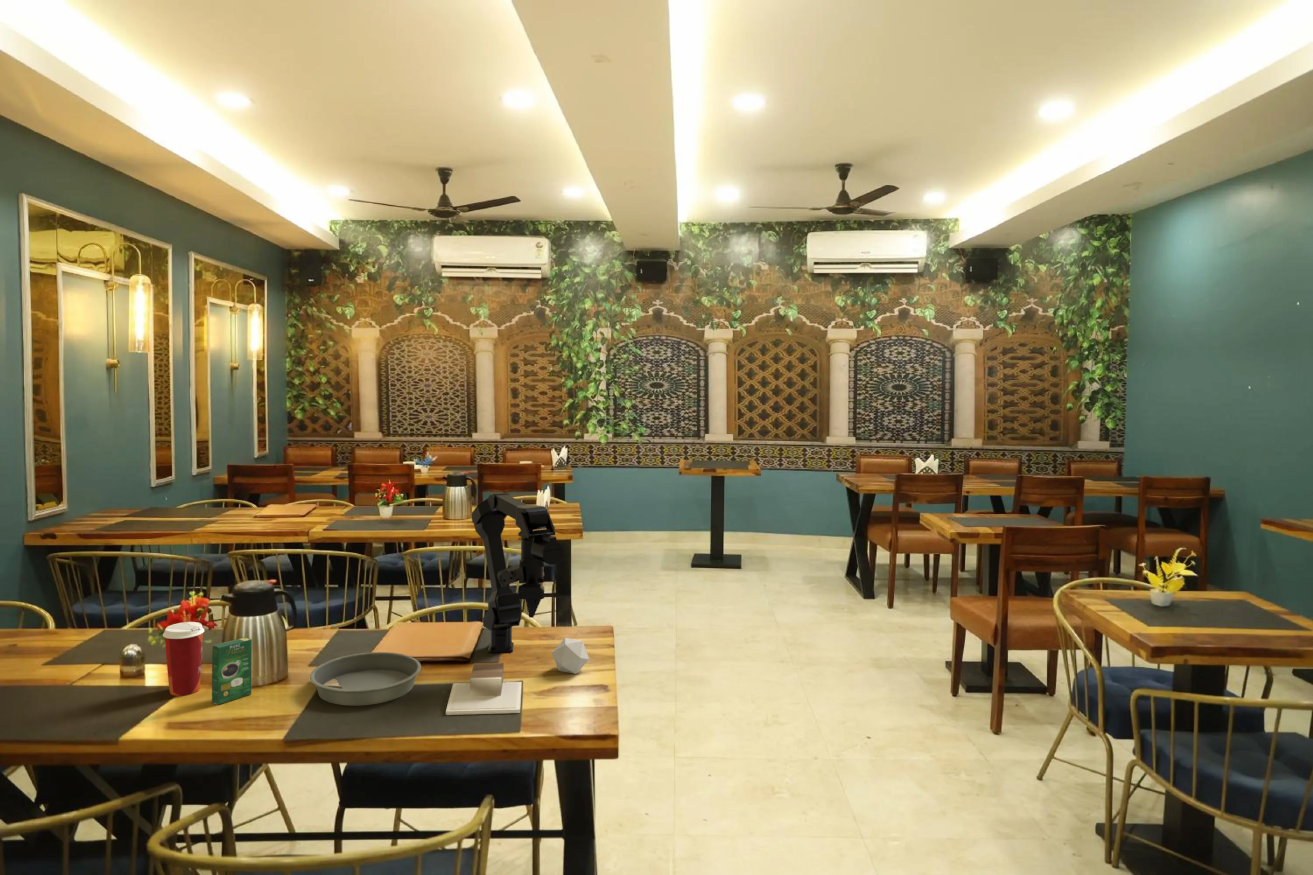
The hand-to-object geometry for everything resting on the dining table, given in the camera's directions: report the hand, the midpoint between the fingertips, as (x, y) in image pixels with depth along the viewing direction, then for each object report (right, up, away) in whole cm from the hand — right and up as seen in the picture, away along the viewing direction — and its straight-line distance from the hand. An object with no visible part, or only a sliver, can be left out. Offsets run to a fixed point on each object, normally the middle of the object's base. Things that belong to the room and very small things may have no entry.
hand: (531, 617), depth 211 cm
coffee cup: (-76, -13, -21) cm, 80 cm away
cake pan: (-36, -14, -15) cm, 42 cm away
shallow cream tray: (-8, -15, -20) cm, 26 cm away
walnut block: (-9, -11, -10) cm, 17 cm away
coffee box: (-64, -13, -24) cm, 69 cm away
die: (+10, -14, 0) cm, 17 cm away
